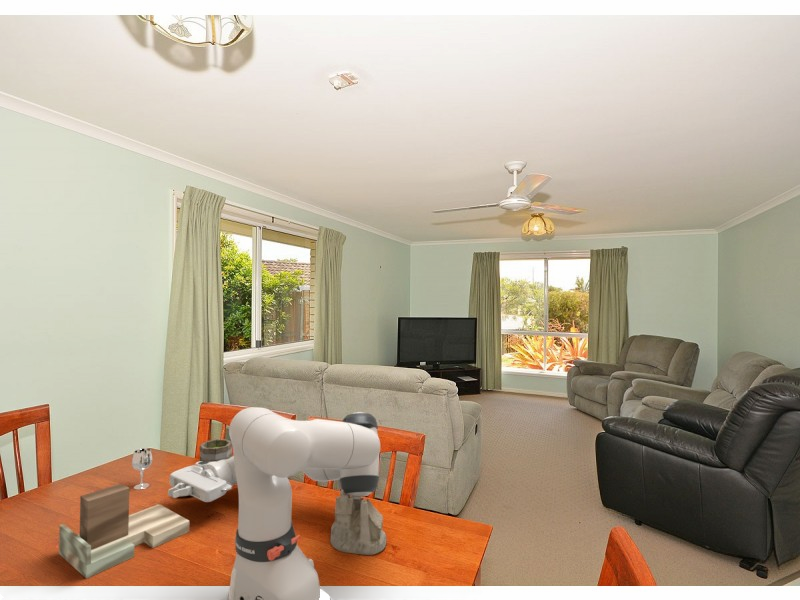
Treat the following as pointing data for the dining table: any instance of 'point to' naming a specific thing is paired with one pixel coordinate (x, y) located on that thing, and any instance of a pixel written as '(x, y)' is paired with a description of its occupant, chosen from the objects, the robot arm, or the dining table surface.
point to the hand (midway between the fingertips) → (170, 494)
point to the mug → (215, 450)
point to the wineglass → (142, 464)
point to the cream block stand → (122, 540)
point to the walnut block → (104, 515)
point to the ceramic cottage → (357, 526)
